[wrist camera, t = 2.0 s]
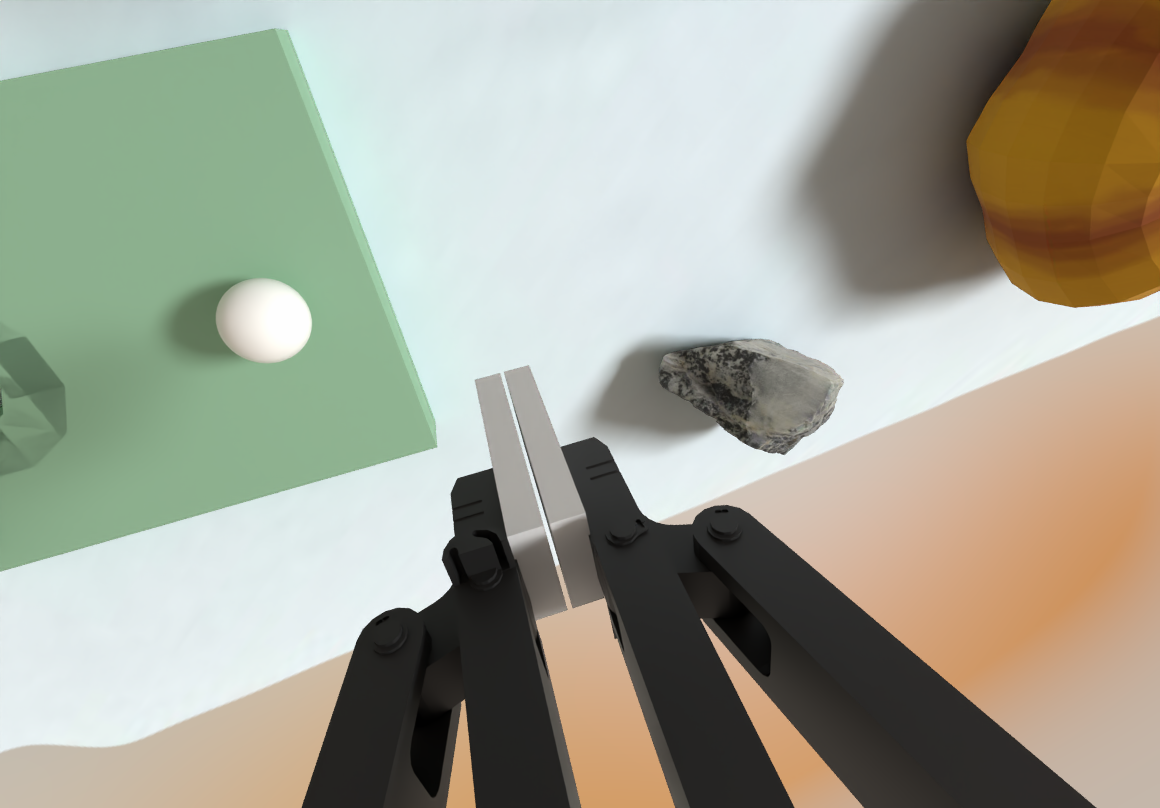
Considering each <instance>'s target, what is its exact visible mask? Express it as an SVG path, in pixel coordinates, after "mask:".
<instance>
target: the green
mask: <svg viewBox="0 0 1160 808" xmlns="http://www.w3.org/2000/svg"><path fill="white" fill-rule="evenodd" d="M253 278H268V279H274V280H277V281H280V282H282V283H285V284H287V285H288V286H290V287H292V288H293V289H294V290H295V291H297V292H298V293H299V294H300V295H301V296H302V298H303V299H304V300H305V302H306V304H307V305H308V307H309V310H310V313H311V318H312V329H311V334H310V337H309V339H308V341H307V343H306V344H305V346H304V347H303V348H302V349H301V350H300V351H299V352H298V353H297V354H296V355H294V356H293V357H291V358H289V359H287V360H284V361H281V362H276V363H257V362H253V361H250V360H247V359H245V358H242V357H241V356H239V355H237V354H236V353H234V352H233V351H232V350H231V349H230V348H229V347H228V346H227V345H226V344H225V343H224V341H223V340H222V338H221V337H220V335H219V332H218V329H217V325H216V310H217V306H218V303H219V301H220V300H221V298H222V296H223V295H224V294H225V293H226V292H227V291H228V290H229V289H230V288H231V287H232V286H234V285H235V284H237V283H240V282H242V281H244V280H248V279H253ZM0 388H1V396H2V406H3V407H0V571H4V570H7V569H11V568H14V567H18V566H21V565H25V564H28V563H32V562H36V561H39V560H43V559H46V558H50V557H53V556H57V555H60V554H64V553H67V552H71V551H74V550H78V549H81V548H85V547H88V546H92V545H95V544H99V543H102V542H106V541H109V540H113V539H116V538H120V537H123V536H127V535H130V534H134V533H137V532H141V531H144V530H148V529H151V528H155V527H158V526H162V525H166V524H169V523H173V522H176V521H180V520H183V519H187V518H190V517H194V516H197V515H201V514H204V513H208V512H211V511H215V510H218V509H222V508H225V507H229V506H232V505H236V504H239V503H243V502H246V501H250V500H253V499H257V498H260V497H264V496H267V495H271V494H274V493H278V492H281V491H285V490H288V489H292V488H295V487H299V486H303V485H306V484H310V483H313V482H317V481H320V480H324V479H327V478H331V477H334V476H338V475H341V474H345V473H348V472H352V471H355V470H359V469H362V468H366V467H369V466H373V465H376V464H380V463H383V462H387V461H390V460H394V459H397V458H401V457H404V456H408V455H411V454H415V453H418V452H422V451H425V450H429V449H433V448H436V447H437V439H436V425H435V419H434V417H433V414H432V412H431V409H430V406H429V404H428V401H427V398H426V396H425V393H424V390H423V388H422V385H421V382H420V380H419V377H418V374H417V372H416V369H415V366H414V364H413V361H412V359H411V356H410V353H409V351H408V348H407V345H406V343H405V340H404V337H403V335H402V332H401V329H400V327H399V324H398V321H397V319H396V316H395V314H394V311H393V308H392V306H391V303H390V300H389V298H388V295H387V292H386V290H385V287H384V284H383V282H382V279H381V276H380V274H379V271H378V269H377V266H376V263H375V261H374V258H373V255H372V253H371V250H370V247H369V245H368V242H367V239H366V237H365V234H364V231H363V229H362V226H361V223H360V221H359V218H358V216H357V213H356V210H355V208H354V205H353V202H352V200H351V197H350V194H349V192H348V189H347V186H346V184H345V181H344V178H343V176H342V173H341V171H340V168H339V165H338V163H337V160H336V157H335V155H334V152H333V149H332V147H331V144H330V141H329V139H328V136H327V133H326V131H325V128H324V126H323V123H322V120H321V118H320V115H319V112H318V110H317V107H316V104H315V102H314V99H313V96H312V94H311V91H310V88H309V86H308V83H307V80H306V78H305V75H304V73H303V70H302V67H301V65H300V62H299V59H298V57H297V54H296V51H295V49H294V46H293V43H292V41H291V38H290V35H289V33H288V30H282V29H270V30H265V31H260V32H255V33H249V34H244V35H239V36H234V37H228V38H223V39H218V40H213V41H207V42H202V43H197V44H192V45H186V46H181V47H176V48H171V49H165V50H160V51H155V52H150V53H144V54H139V55H134V56H129V57H123V58H118V59H113V60H108V61H102V62H97V63H92V64H87V65H81V66H76V67H71V68H66V69H60V70H55V71H50V72H45V73H39V74H34V75H29V76H24V77H18V78H13V79H8V80H3V81H0Z"/></svg>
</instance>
